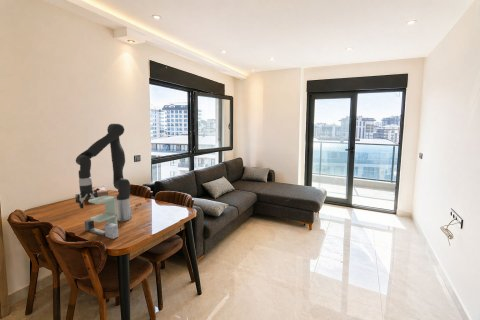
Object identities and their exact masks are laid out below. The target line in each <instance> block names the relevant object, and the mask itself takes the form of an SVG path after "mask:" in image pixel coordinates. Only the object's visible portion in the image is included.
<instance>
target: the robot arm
mask: <svg viewBox="0 0 480 320" xmlns="http://www.w3.org/2000/svg"><path fill="white" fill-rule="evenodd" d="M106 130H107V133H106V135H104V136H103V137H101V138H99V139H98V140H97V141H95V142H93V143H92V144H91V145H90V146H89V147H88V148H87V149H85V150H84V151H83V152H81V153H80V154H79V155H77V157H76V159H75V163H76V164H77V165H79V170H78V183H79V184H78V185H79V193H78V194H77V193H76V194H75V203H76V204H78V205H79V208H80V209H84V201H85V200H86V199H90V197H91V198H92V199H94V198H97V197H98V194H97V190H93V191H92V187H93V182H92V174H91V169H92V160H91V159H92V158H94V157H97V156H98V155H99V154H100V153H101V152H102V151H103V150H104V149H105V148H106V147H108V145H109V146H110V153H111V154H110V155H111V164H112V173H113V175H112V176H113V177H112V178H113V179H112V181H113V182H112V184H113V187H114V188H115V189H116V190H118V194H117V195H116V196H115V197H116V209H117V222H127V221H130V220H131V219H132V218H133V215H132V206H131V201H130V200H131V199H130V196H131V182H130V180H129V179H127V178H124V172H123V171H124V167H125V164H126V154H125V150H124V148H123V146H122V144H121V140H120V137H121V136H122V135H124V133H125V127H124V126H123V125H122V124H120V123H110V124H109V125H108V126H107V129H106ZM92 193H94V196H93V195H92ZM91 204H92V205H93V206H94V205H96V204H94V203H91Z"/></svg>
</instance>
